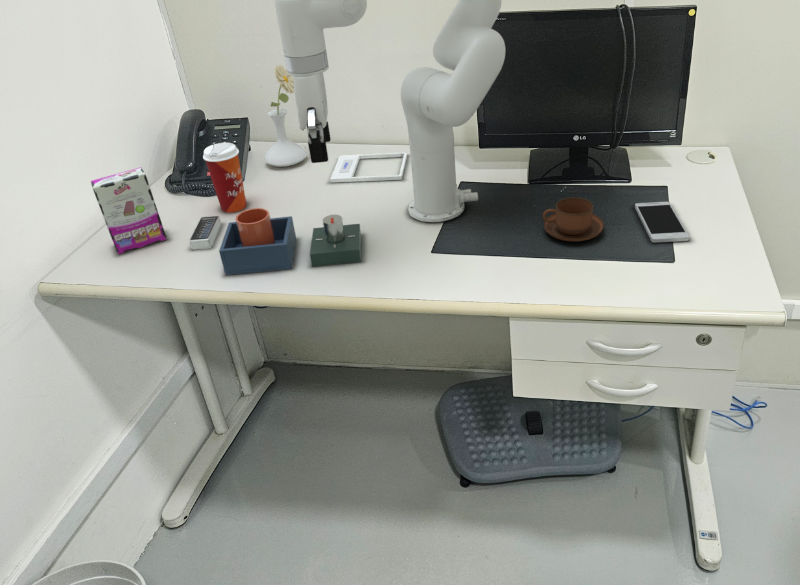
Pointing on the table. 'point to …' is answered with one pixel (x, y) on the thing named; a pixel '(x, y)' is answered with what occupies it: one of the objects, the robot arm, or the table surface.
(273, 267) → the basin
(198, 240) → the multiport hub
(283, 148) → the flower in vase
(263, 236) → the cup
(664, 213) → the smartphone
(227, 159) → the coffee cup
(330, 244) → the green dial base
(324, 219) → the rotary dial knob
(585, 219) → the cup and saucer
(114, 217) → the candy bar box
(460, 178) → the table surface
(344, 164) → the photo frame
